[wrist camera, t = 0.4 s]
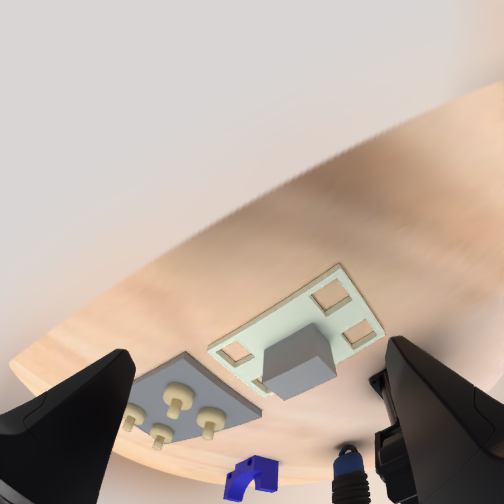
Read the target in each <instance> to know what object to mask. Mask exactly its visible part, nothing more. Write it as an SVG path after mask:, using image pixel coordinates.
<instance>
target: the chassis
mask: <svg viewBox="0 0 504 504" xmlns="http://www.w3.org/2000/svg"><path fill="white" fill-rule="evenodd" d="M261 417H262V410H260V409H259V408H257V407H256V406H255V405H253V404H252V403H250V402H249V401H248V400H246V399H245V398H243V397H242V396H241V395H239V394H238V393H237V392H235V391H234V390H233V389H231V388H230V387H229V386H227V385H226V384H225V383H223V382H222V381H221V380H220V379H218V378H217V377H216V376H215V375H213V374H212V373H211V372H210V371H208V370H207V369H206V368H205V367H203V366H202V365H201V364H200V363H199V362H197V361H196V360H195V359H194V358H193V357H191V356H190V355H189V354H188V353H187V352H184V353H182V354H180V355H179V356H177V357H175V358H174V359H172V360H170V361H168V362H166V363H165V364H163V365H161V366H159V367H158V368H156V369H154V370H152V371H150V372H148V373H147V374H145V375H143V376H141V377H139V378H137V379H136V380H134V381H133V384H132V388H131V392H130V396H129V400H128V404H127V407H126V410H125V413H124V415H123V418H124V419H125V422H124V424H123V427H122V428H123V429H124V430H125V431H127V432H131V430H132V427H133V425H135V426H136V427H138V428H139V429H141V430H142V431H144V432H145V433H147V434H149V435H150V436H151V437H153V438H154V439H155V441H154V444H153V448H154V449H156V450H159V451H160V450H161V449H162V446H163V444H168V443H173V442H178V441H182V440H187V439H191V438H195V437H199V436H202V438H203V439H205V440H212V439H213V435H214V432H218V431H221V430H224V429H228V428H231V427H234V426H237V425H241V424H244V423H247V422H250V421H252V420H255V419H258V418H261Z"/></svg>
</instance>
